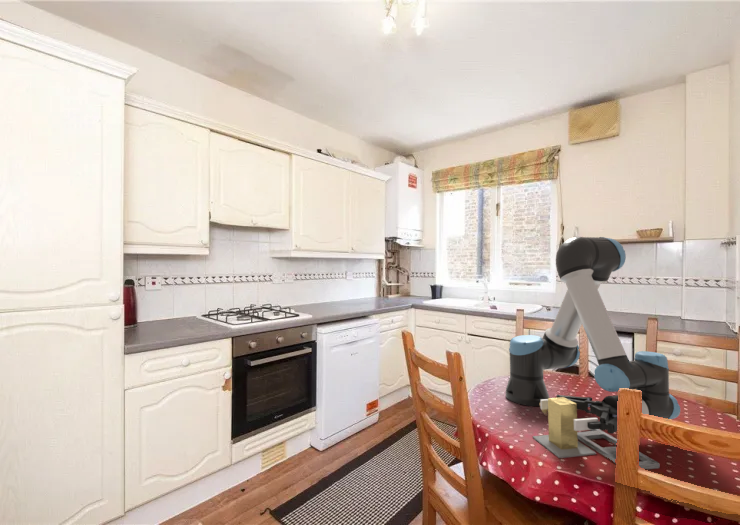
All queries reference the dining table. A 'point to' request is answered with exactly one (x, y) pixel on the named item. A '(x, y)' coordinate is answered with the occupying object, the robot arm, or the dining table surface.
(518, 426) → the dining table surface
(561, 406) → the block
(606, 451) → the rail
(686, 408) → the dining table surface
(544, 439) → the mat
